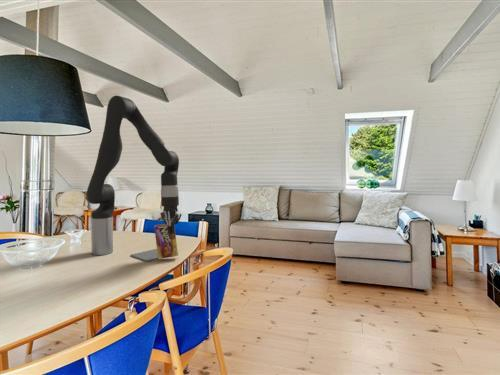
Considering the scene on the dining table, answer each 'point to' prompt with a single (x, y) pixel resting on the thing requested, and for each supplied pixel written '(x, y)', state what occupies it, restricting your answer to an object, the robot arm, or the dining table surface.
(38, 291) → the dining table surface
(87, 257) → the dining table surface
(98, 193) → the robot arm
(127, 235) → the dining table surface
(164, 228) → the candy box
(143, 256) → the rubber mat
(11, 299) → the dining table surface
